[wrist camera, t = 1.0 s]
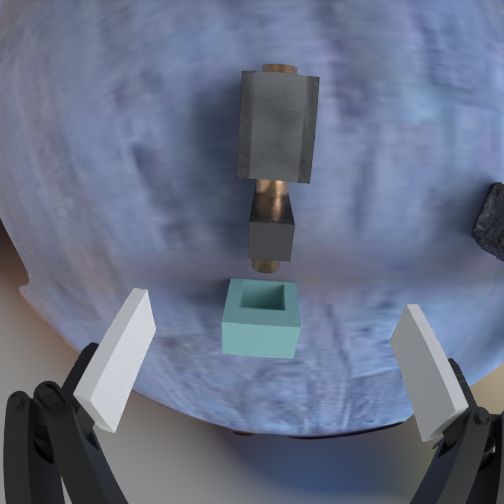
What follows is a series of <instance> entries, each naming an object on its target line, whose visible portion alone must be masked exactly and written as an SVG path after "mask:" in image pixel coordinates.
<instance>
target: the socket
mask: <svg viewBox="0 0 504 504" xmlns="http://www.w3.org/2000/svg"><path fill="white" fill-rule="evenodd" d="M300 329H301V324H300V315H299V306H298V298H297V289H296V282H281V281H266V280H253V279H239V278H231V280H230V284H229V289H228V294H227V299H226V303H225V308H224V313H223V318H222V354H232V355H243V356H256V357H272V358H294V354H295V350H296V346H297V342H298V338H299V333H300Z"/></svg>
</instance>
